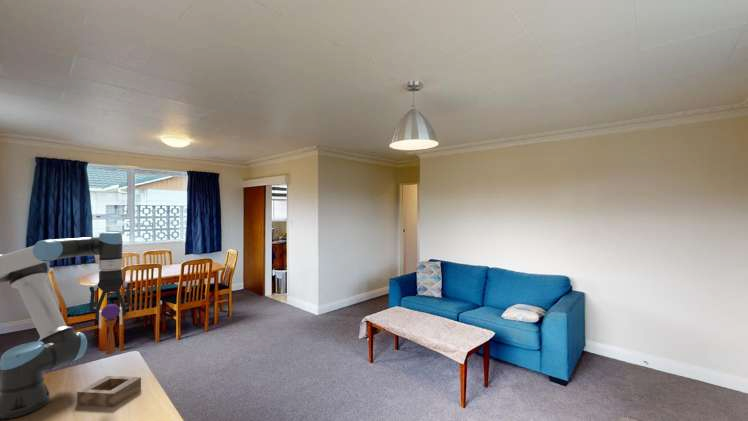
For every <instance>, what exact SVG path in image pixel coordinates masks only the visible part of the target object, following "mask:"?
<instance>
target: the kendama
mask: <svg viewBox="0 0 748 421" xmlns="http://www.w3.org/2000/svg"><path fill="white" fill-rule="evenodd" d="M120 308H121V307H119V305H117V304H114V303H110V304H107V305H105V306H104V307H103V308H102V319H104V321H103V322H104V323H105V324H106V326H107V328H108V334H107V340H106V348H105V355H107V356H108V355H114V354H115V353H116V352H117V351H116V350H117V349H116V344H115V337H114V336H115V335H114V330H113V328H114V326H115V324H116V322H117V320H118V318H117V317H118V316H120Z"/></svg>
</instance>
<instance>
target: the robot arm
mask: <svg viewBox="0 0 748 421" xmlns="http://www.w3.org/2000/svg"><path fill="white" fill-rule="evenodd" d="M85 256H87V257H88V256H98V270H100V271H98V282H97V284H95V285H90V286H89V287H88V289H89V292H90V299H89V301H90V302H89V312H92V313H93V312H94V313H95V314H94V316H95V317H94V318H95V320H96V321H98V329H102V323H103V321H102V319H103V316H102V310H103V309H102V310H101V307H102V305H103V302H104V299H105V298H106V295H107V294H108V293H109V294H110V293H115V294H116V296H117V298H118V301H119V304H120V305H121V307H119V308H120V313H119V325H123V317H125V316H126V313H127V312H126V308H127V307H130V306H131V305H132V303H131V302H132V301H131V289H130V288H131V285H132V282H131V281H124V280H123V279H124V278H123V269H122V268H123V233H122V232H119V231H114V232H113V231H111V232H109V231H108V232H106V231H105V232H100V233H99V235H98V236H83V237H73V238H59V239H58V238H56V239H54V238H51V239H50V238H48V239H44V240H43V239H42V240H38V241H37V242H36V243H35V244H34V245H31V246H29V247H24V248H21V249H18V250H15V251H11V252H7V253H4V254H0V283H6V282H8V283H9V285H10V286H11V288H13V289H17V290H18V293H19V294H20V297H21V298H22V300H23V303H24V305H25V307H26V309H27V312H28V313H29V316H30V318H31V320H32V322H33V324H34V326H35V329H36V331H37V333H38V334H39V339H38V340H37V341H36V340H35V341H30V342H27V343H22V344H19V345H16V346H14V347H12V348H10V349H7V350H6V351H5V352H4V353H3V354H2V355H1V357H0V418H3V419H2V420H5V419H4V418H9V419H13V418H17V417H18V418H19V417H21V416H24V415H27V414H30V413H33V412H34V411H35V412H36V411H38V410H40V409H41V408H43V407H44V406H46V405H47V404H48V403H49V402H50V401H51V395H50V392H49V389H48V387H47V385H46V384H45V373H46V372H47V373H48V372H49V371H53V370H54V369H57V368H60V367H63V366H65V365H67V364H68V365H69V364H71V363H73V362H74V361H77V360H79V359H80V358H82V357H83V356H84V354H85V353H86V351H87V348H88V340H87V337H86V335H85V333H83V332H81V331H75V329H74V327H73V326H68V325H67V324H66V322H65V320H64V317H63V315H62V313H61V311H60V309H59V307H58V304H57V303H56V300H55V298H54V296H53V295H52V292H51V290H50V288H49V286H48V283H47V282H46V279H47V278H48V273H49V272H50V270H51V267H50V266H51V263H50V262H52V261H55V260H60V259H67V258H75V257H85ZM122 286H124V287H125V293H126V302H125V301H124V299H123V296H122V294H121V291H120V289H121V287H122ZM98 288H99V289H100V290H101V291H102V292H101V295H100V298H99V300H98V301H97V305H96V307H95V298H96V296H95V295H96V291H97V289H98Z"/></svg>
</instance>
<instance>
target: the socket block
mask: <svg viewBox="0 0 748 421" xmlns="http://www.w3.org/2000/svg"><path fill="white" fill-rule="evenodd" d="M140 390H142V377H141V376H139V377H138V376H118V375H106V376H104V377H102V378H101V379H99V380H96V381H95V382H93V383H91V384H90V385H87V386H85V387H84V388H82V389H79V390H77V392H76V405H77V406H93V407H96V406H97V407H116V406H118V404H120V403H121V402H123V401H125V400H126V399H128V398H129V397H131V396H133V395H134V394H136V393H137V392H139V391H140Z"/></svg>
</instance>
